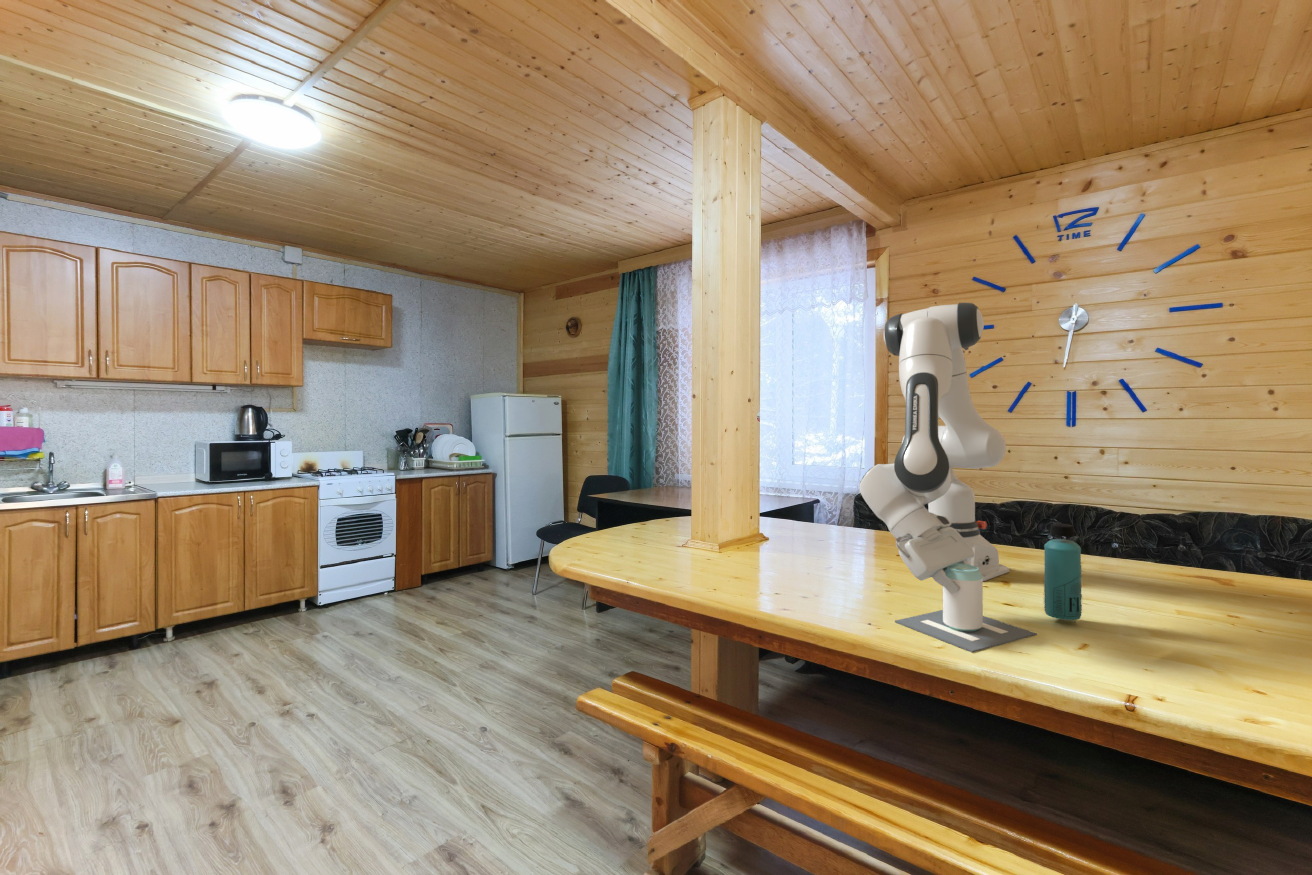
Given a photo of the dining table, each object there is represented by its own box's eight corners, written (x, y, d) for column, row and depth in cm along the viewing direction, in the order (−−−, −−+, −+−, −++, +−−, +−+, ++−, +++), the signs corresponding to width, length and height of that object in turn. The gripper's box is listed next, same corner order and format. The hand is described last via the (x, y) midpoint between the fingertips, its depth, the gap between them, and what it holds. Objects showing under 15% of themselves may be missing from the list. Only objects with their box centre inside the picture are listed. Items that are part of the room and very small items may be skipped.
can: (988, 633, 117) (988, 571, 117) (949, 632, 118) (948, 571, 118) (975, 620, 124) (975, 562, 123) (938, 619, 125) (938, 562, 125)
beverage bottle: (1070, 630, 119) (1071, 528, 118) (1036, 620, 125) (1036, 523, 124) (1089, 624, 122) (1089, 524, 121) (1054, 614, 128) (1054, 520, 127)
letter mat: (955, 608, 133) (955, 606, 133) (1036, 634, 117) (1036, 632, 117) (894, 621, 126) (894, 620, 126) (972, 652, 109) (972, 650, 109)
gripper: (902, 529, 119) (953, 589, 112) (950, 516, 132) (999, 568, 125) (881, 548, 123) (929, 607, 116) (930, 533, 136) (976, 586, 129)
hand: (966, 587), depth 120 cm, fingers closed on can, 7 cm apart
